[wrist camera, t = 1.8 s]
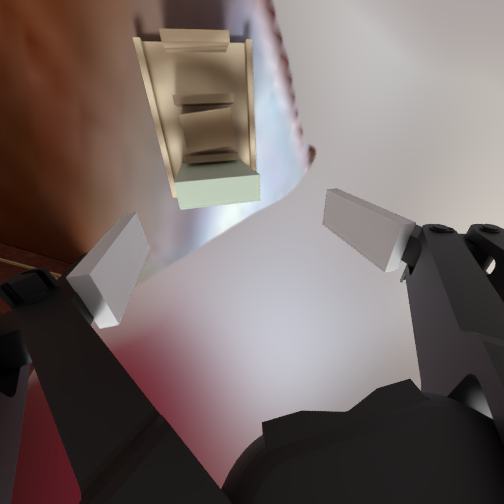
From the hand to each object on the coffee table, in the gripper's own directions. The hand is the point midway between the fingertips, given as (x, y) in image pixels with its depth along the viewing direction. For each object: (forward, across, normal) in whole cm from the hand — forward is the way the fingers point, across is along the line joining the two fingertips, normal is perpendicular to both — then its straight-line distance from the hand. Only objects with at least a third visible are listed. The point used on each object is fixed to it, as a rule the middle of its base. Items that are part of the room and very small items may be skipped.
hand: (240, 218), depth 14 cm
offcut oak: (+22, -1, +5) cm, 23 cm away
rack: (+27, -1, +6) cm, 27 cm away
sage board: (+26, -1, -1) cm, 26 cm away
